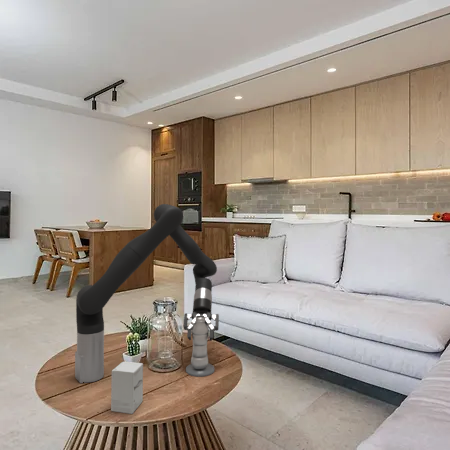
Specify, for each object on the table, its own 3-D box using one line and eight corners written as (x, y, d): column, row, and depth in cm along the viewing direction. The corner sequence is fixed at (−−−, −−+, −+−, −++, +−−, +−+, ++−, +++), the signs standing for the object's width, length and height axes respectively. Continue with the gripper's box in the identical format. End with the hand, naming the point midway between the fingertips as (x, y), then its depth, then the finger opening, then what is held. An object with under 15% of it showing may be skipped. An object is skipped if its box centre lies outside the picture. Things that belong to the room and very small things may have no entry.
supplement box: (133, 414, 106) (133, 372, 106) (110, 411, 108) (110, 370, 107) (143, 401, 114) (143, 362, 113) (122, 399, 115) (122, 360, 115)
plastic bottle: (188, 366, 139) (189, 315, 138) (204, 363, 142) (205, 313, 141) (193, 372, 133) (194, 319, 132) (210, 369, 136) (211, 318, 135)
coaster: (196, 379, 129) (196, 377, 129) (180, 369, 138) (180, 367, 138) (220, 371, 137) (220, 369, 137) (203, 361, 145) (203, 360, 145)
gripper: (184, 296, 144) (180, 334, 133) (220, 297, 144) (219, 335, 133) (185, 306, 149) (182, 343, 138) (220, 306, 149) (219, 344, 138)
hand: (200, 339), depth 135 cm, fingers open, 7 cm apart
